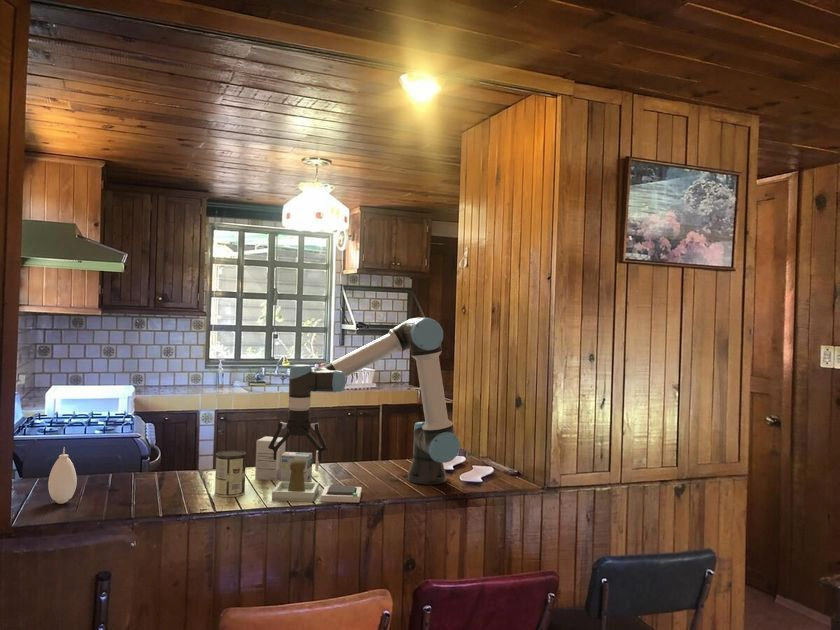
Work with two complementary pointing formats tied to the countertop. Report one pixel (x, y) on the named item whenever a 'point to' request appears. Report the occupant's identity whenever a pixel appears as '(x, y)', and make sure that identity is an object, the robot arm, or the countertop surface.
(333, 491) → the dark grey square slab
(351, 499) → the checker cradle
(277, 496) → the sorting tray
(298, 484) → the cork
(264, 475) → the supplement box
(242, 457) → the coffee can
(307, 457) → the light bulb box
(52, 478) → the bulb syringe
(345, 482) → the countertop surface
